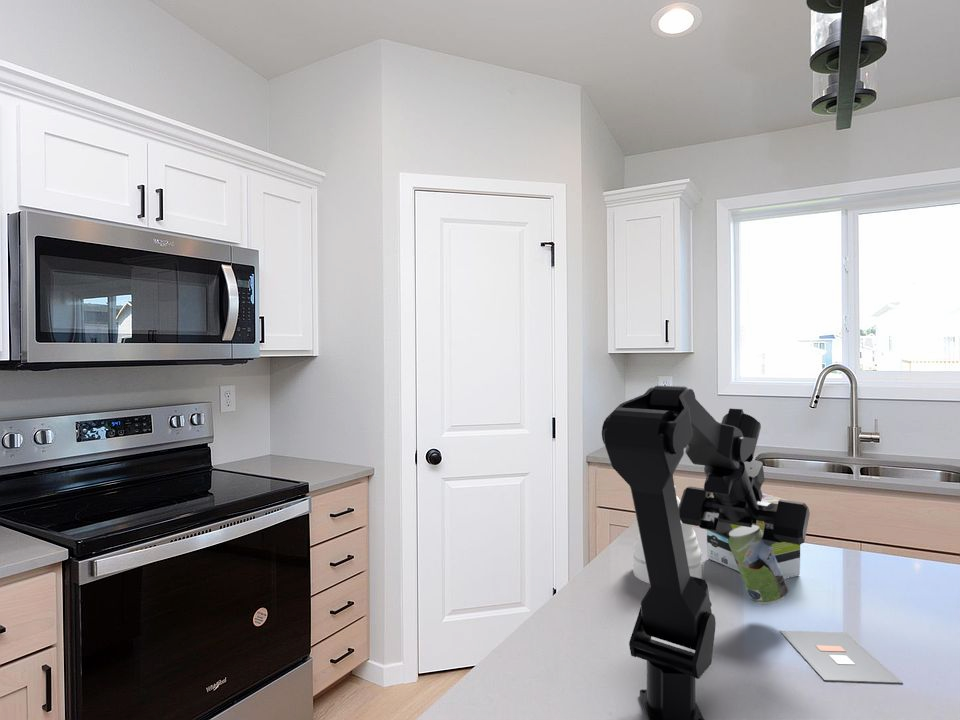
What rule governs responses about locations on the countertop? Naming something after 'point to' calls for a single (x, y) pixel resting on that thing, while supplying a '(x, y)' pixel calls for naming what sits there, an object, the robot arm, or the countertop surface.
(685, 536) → the honey pot
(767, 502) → the tea box
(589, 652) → the countertop surface
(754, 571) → the beverage can
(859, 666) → the tile
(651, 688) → the robot arm
